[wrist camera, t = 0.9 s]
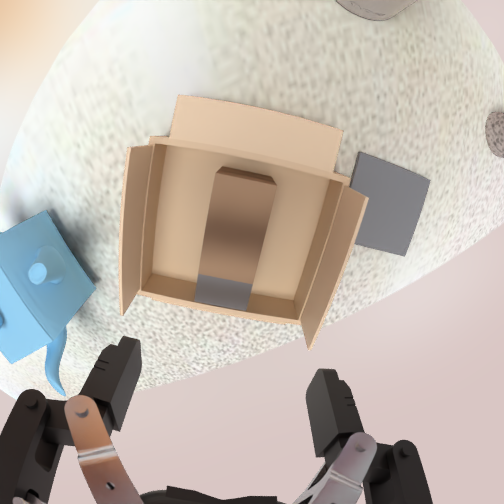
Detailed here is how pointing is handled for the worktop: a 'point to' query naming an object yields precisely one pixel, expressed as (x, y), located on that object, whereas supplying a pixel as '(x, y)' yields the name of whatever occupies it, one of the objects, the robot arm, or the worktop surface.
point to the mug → (495, 133)
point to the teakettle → (38, 292)
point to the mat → (388, 203)
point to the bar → (234, 237)
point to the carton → (198, 199)
